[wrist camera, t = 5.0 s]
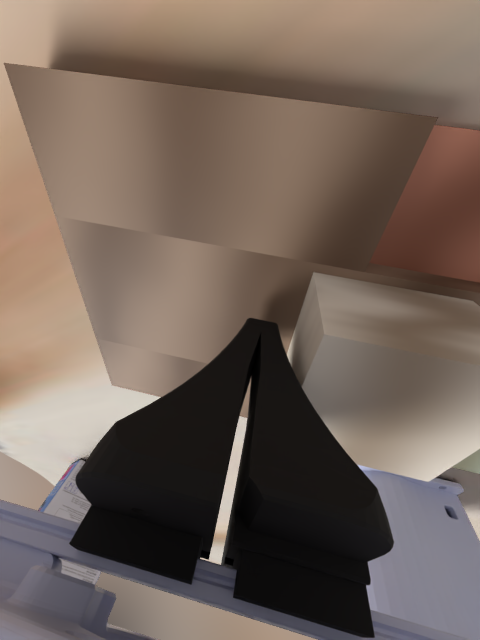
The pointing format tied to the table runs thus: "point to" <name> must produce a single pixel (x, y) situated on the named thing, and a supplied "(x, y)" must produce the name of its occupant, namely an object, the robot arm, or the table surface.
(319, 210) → the trap board
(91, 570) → the ink cartridge box
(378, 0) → the table surface
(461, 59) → the table surface
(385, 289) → the birch block
